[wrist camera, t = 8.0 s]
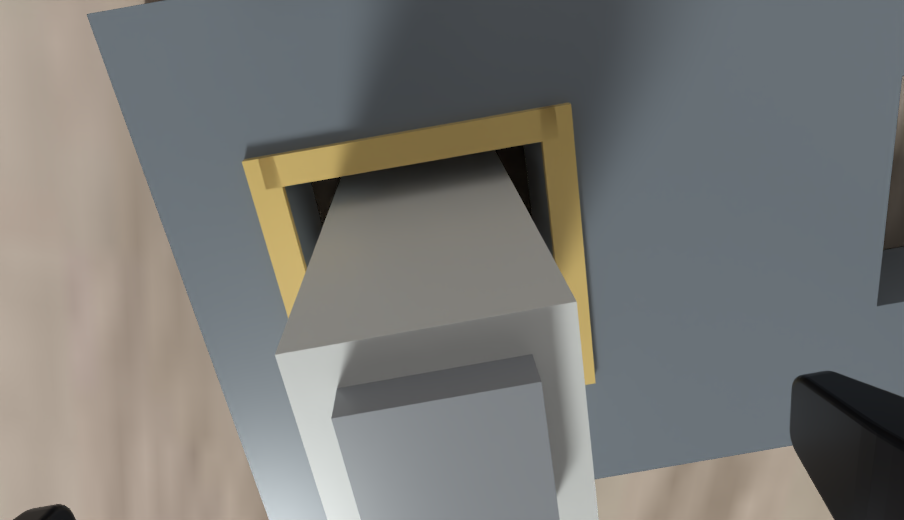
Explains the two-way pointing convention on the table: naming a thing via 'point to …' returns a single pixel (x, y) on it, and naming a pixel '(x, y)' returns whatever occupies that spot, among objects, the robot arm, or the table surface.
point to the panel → (546, 188)
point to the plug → (438, 354)
